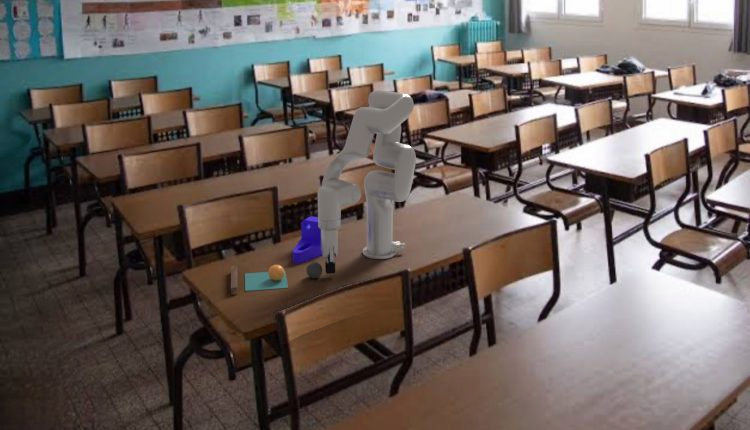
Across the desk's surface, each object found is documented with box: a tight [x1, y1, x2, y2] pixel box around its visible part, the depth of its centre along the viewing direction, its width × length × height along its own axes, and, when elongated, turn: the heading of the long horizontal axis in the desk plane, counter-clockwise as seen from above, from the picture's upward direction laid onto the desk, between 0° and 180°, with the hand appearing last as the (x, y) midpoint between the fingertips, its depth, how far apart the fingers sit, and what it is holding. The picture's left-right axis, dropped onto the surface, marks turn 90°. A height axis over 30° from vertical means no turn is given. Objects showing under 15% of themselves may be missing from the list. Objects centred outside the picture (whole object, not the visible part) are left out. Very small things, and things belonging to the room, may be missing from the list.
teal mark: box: [244, 270, 289, 292], centre depth 245 cm, size 14×14×1 cm
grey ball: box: [305, 261, 323, 279], centre depth 247 cm, size 6×6×6 cm
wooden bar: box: [230, 265, 239, 296], centre depth 243 cm, size 2×18×2 cm, turn 10°
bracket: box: [292, 216, 323, 264], centre depth 266 cm, size 18×11×12 cm, turn 154°
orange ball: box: [267, 264, 286, 281], centre depth 245 cm, size 6×6×6 cm
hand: (330, 272), depth 249 cm, fingers closed
